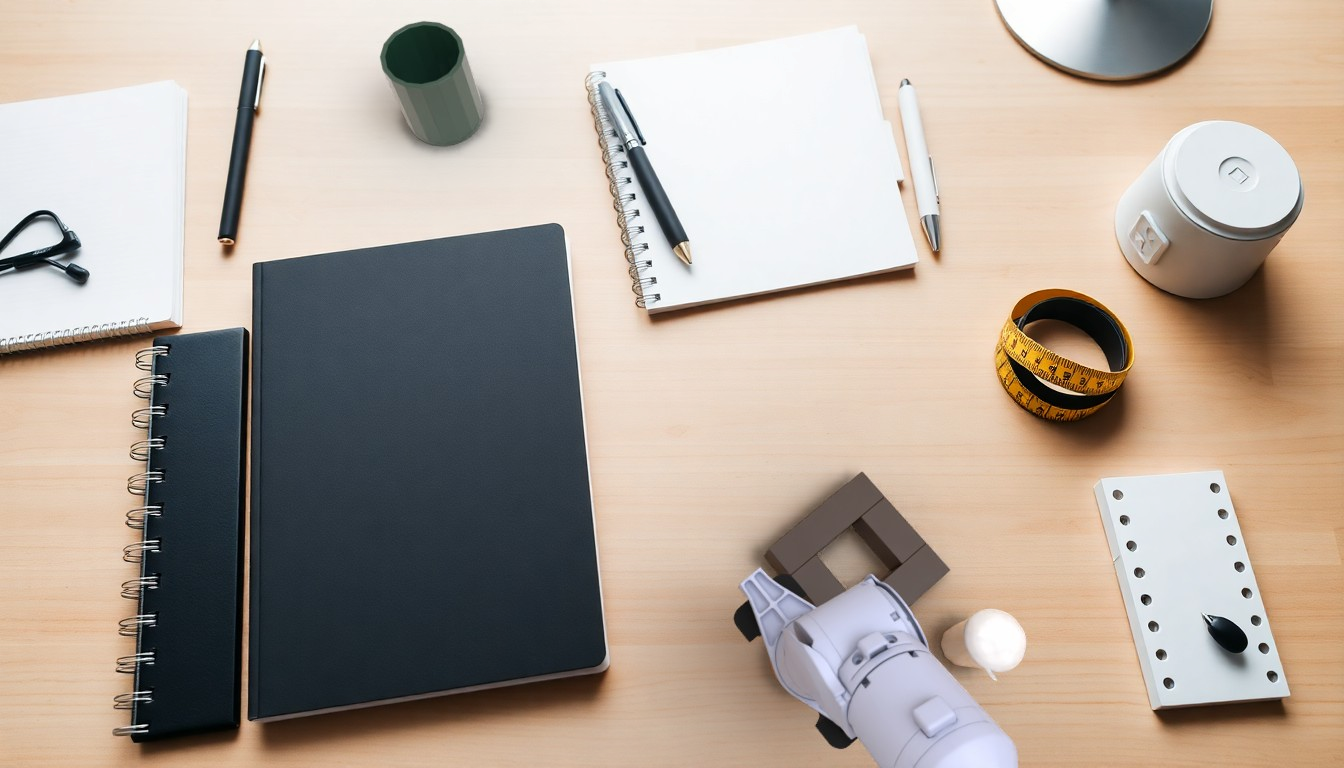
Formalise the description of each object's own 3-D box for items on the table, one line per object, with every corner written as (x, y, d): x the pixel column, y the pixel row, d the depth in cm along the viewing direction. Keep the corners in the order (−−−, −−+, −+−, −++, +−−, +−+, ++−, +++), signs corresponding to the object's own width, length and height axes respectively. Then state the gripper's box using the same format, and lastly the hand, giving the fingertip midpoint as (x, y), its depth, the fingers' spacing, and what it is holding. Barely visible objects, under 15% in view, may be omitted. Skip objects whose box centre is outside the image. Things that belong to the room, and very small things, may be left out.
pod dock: (936, 576, 72) (950, 569, 68) (845, 656, 69) (855, 654, 66) (852, 482, 74) (862, 470, 71) (762, 555, 72) (767, 548, 68)
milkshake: (923, 671, 69) (963, 667, 59) (941, 609, 71) (982, 596, 61) (976, 692, 68) (1025, 692, 59) (993, 630, 70) (1042, 620, 61)
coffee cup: (498, 119, 88) (479, 59, 80) (434, 159, 86) (409, 101, 78) (456, 72, 90) (434, 8, 82) (393, 109, 89) (364, 48, 80)
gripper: (949, 706, 53) (895, 704, 66) (799, 530, 57) (776, 559, 70) (868, 782, 52) (829, 764, 65) (720, 595, 56) (711, 613, 68)
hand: (797, 661), depth 67 cm, fingers open, 7 cm apart
